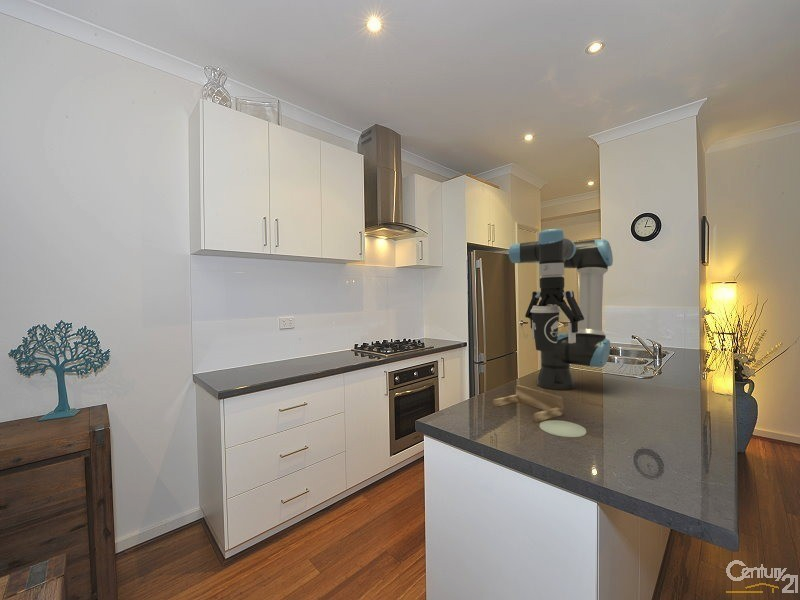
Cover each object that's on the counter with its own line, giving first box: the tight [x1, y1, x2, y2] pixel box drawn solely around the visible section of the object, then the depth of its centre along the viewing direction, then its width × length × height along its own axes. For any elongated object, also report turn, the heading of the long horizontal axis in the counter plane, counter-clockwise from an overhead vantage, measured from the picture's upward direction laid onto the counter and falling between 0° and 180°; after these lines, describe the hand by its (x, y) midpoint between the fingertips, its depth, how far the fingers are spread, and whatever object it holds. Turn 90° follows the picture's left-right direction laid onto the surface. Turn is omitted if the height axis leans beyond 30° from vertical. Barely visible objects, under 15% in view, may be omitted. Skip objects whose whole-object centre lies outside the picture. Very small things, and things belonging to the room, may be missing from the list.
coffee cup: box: [530, 304, 562, 352], centre depth 118 cm, size 10×10×15 cm
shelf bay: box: [492, 384, 564, 423], centre depth 124 cm, size 14×19×6 cm
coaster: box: [539, 419, 587, 438], centre depth 107 cm, size 13×13×1 cm
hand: (553, 340), depth 115 cm, fingers open, 13 cm apart
